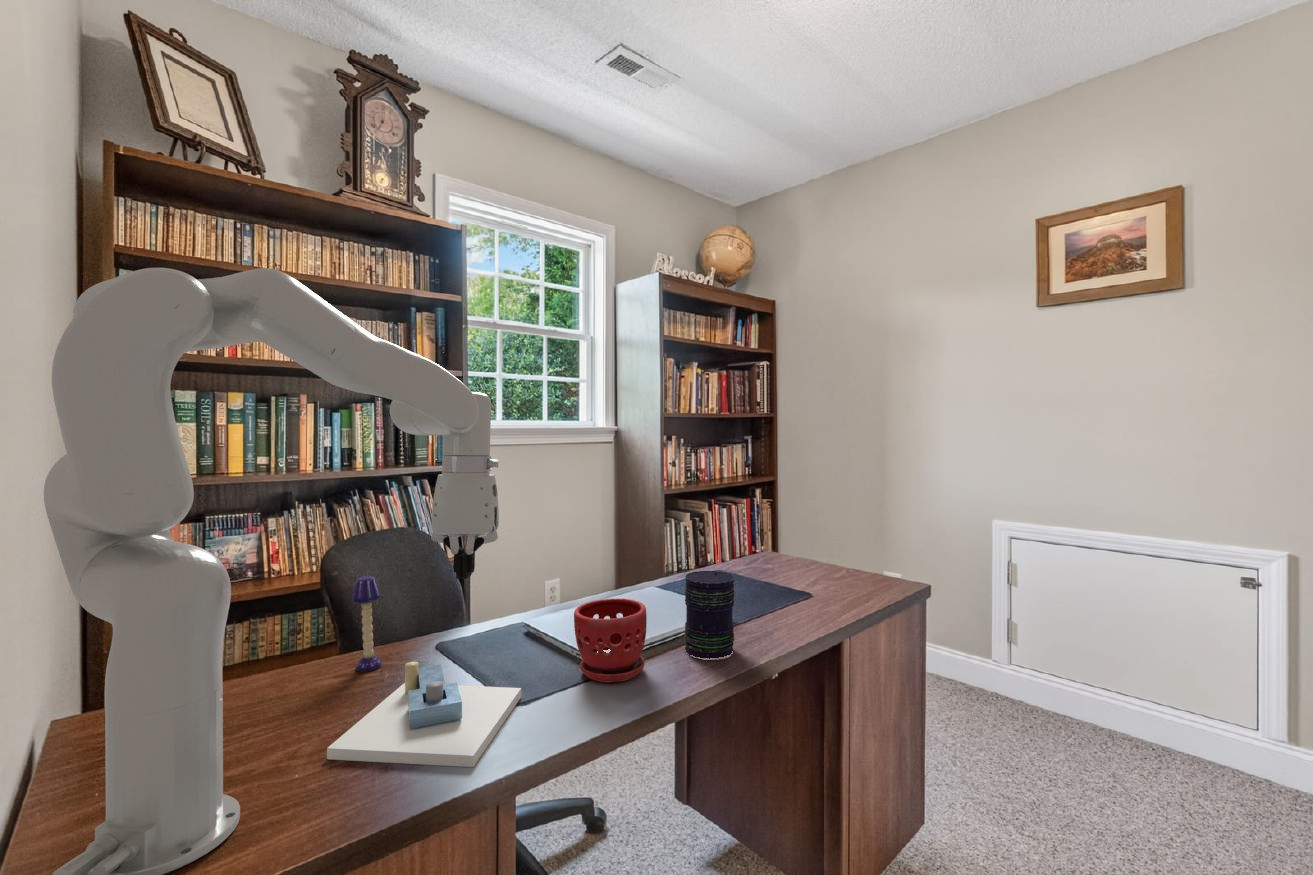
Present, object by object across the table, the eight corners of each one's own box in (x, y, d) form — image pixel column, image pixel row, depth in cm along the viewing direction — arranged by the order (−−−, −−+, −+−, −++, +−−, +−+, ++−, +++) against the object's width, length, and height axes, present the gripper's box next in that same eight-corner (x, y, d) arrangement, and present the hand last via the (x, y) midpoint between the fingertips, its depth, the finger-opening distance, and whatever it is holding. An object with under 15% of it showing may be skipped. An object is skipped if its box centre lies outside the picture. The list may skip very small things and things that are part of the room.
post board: (473, 767, 76) (473, 721, 75) (327, 759, 77) (327, 714, 77) (521, 697, 95) (521, 660, 95) (404, 692, 97) (404, 656, 97)
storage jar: (720, 665, 109) (721, 585, 109) (675, 654, 114) (675, 578, 114) (741, 648, 118) (742, 574, 117) (698, 639, 123) (699, 568, 123)
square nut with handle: (461, 718, 85) (461, 701, 85) (409, 728, 82) (409, 711, 82) (451, 677, 99) (451, 662, 99) (406, 684, 96) (406, 669, 96)
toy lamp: (359, 675, 104) (359, 581, 104) (347, 668, 107) (347, 577, 106) (385, 666, 108) (385, 576, 107) (373, 660, 110) (373, 572, 110)
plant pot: (623, 653, 114) (623, 593, 114) (660, 677, 104) (660, 610, 103) (562, 668, 107) (562, 603, 107) (594, 695, 96) (595, 623, 96)
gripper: (516, 466, 100) (514, 572, 100) (429, 464, 100) (427, 571, 100) (505, 468, 93) (503, 583, 93) (411, 466, 93) (409, 581, 93)
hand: (464, 576), depth 96 cm, fingers closed
